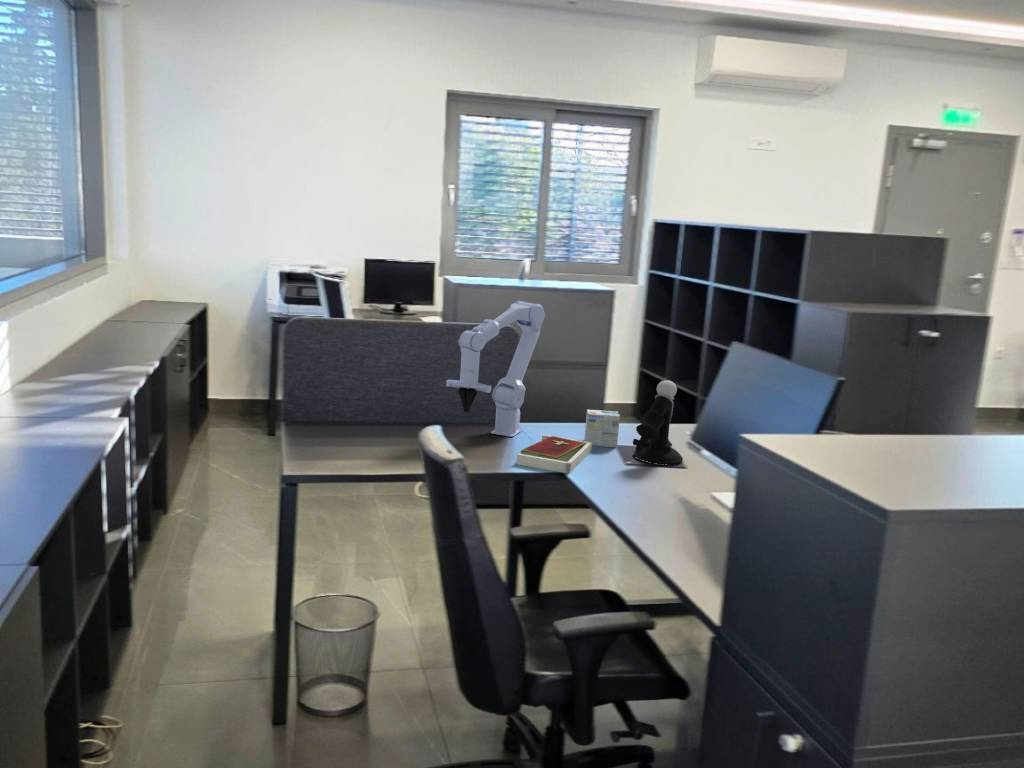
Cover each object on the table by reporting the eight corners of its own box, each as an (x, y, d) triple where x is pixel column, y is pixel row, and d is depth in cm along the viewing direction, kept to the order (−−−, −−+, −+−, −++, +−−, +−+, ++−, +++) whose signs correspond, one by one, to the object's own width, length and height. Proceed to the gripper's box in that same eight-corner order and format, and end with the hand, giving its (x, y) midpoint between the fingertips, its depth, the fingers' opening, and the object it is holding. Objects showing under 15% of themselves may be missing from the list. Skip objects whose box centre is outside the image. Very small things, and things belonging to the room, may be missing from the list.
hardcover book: (519, 462, 256) (520, 448, 255) (549, 447, 274) (550, 434, 273) (556, 470, 250) (557, 456, 250) (584, 454, 269) (585, 441, 268)
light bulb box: (615, 442, 284) (618, 411, 282) (617, 448, 278) (620, 415, 276) (583, 440, 285) (586, 408, 282) (584, 445, 278) (587, 413, 276)
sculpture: (689, 458, 272) (699, 382, 267) (659, 475, 252) (669, 392, 247) (645, 448, 280) (653, 373, 275) (613, 463, 260) (621, 383, 255)
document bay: (542, 443, 276) (543, 434, 276) (591, 451, 271) (592, 442, 271) (516, 464, 252) (516, 454, 251) (569, 473, 247) (570, 463, 246)
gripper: (443, 368, 267) (440, 410, 269) (486, 374, 262) (483, 417, 265) (452, 364, 273) (449, 406, 276) (494, 371, 269) (491, 413, 271)
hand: (466, 411), depth 271 cm, fingers closed
